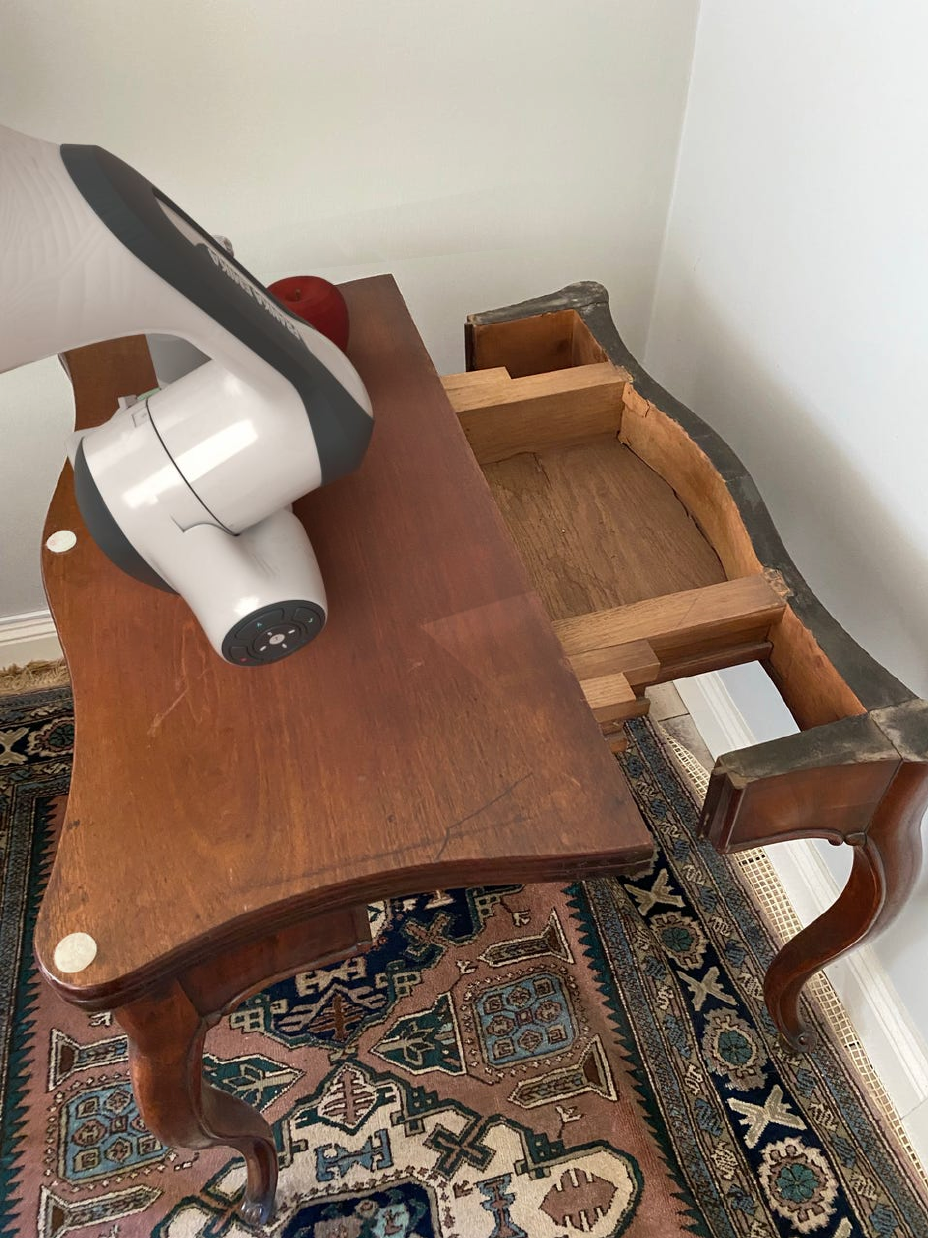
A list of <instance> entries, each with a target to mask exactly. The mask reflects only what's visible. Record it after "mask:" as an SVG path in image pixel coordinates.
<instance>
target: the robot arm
mask: <svg viewBox="0 0 928 1238" xmlns="http://www.w3.org/2000/svg"><path fill="white" fill-rule="evenodd" d="M211 235H212V234H210V233H208V232H207V230H205V229H204V228H203V227H202V226H201V225H200V224H199V223H198V222H197V221H196V220H194V219H193V217H191V216H190V215H189V214H188V213H187V212H185V210H183V209H182V207H180V206H179V205H178V204H177V203H175V201H173V200H172V199H171V198H170V197H169V196H168V195H167V194H166V193H164V192H163V191H162V190H161V189H159V188H158V187H157V186H156V185H155V184H154V183H152V181H150V180H149V179H148V178H147V177H145V176H144V175H142V174H141V173H140V172H139V171H138V170H136V169H135V168H134V167H132V166H131V165H129V163H127V162H125V161H124V160H123V159H121V158H120V157H118V155H117V156H116V154H113V153H112V152H110V151H109V150H108V149H105V148H104V147H102V146H100V145H97V144H84V143H83V144H81V143H61V144H59V143H55V142H51V141H48V140H45V139H42V138H38V137H35V136H32V135H29V134H26V133H24V132H21V131H19V130H17V129H14V128H12V127H10V126H7V125H5V124H3V123H1V122H0V375H2V374H6V373H8V372H11V371H13V370H16V369H18V368H22V367H24V366H28V365H30V364H33V363H36V362H38V361H42V360H44V359H48V358H51V357H53V356H57V355H60V354H62V353H65V352H66V353H67V352H70V351H72V350H76V349H80V348H84V347H86V346H90V345H94V344H98V343H101V342H107V341H110V340H115V339H120V338H125V337H131V336H139V335H145V334H169V335H174V336H177V337H180V338H183V339H185V340H187V341H188V342H190V343H191V344H192V345H194V346H195V347H196V348H198V349H199V350H201V351H202V352H203V353H205V354H206V355H207V356H209V357H210V358H211V360H210V361H209V362H207V363H205V364H204V365H202V366H200V367H199V368H197V369H195V370H194V371H192V372H190V373H189V374H187V375H185V376H184V377H182V378H180V379H179V380H177V381H175V382H174V383H172V384H170V385H169V386H167V387H165V388H164V389H162V390H160V391H159V392H157V393H155V394H154V395H152V396H150V397H147V398H145V399H143V400H142V401H140V402H138V400H137V397H138V396H137V394H130V395H127V396H125V395H124V396H121V397H118V398H117V401H118V405H119V408H118V409H117V410H116V411H115V413H114V414H113V415H112V416H111V418H110V419H109V420H107V421H106V422H104V423H102V424H101V425H98V426H94V427H90V428H89V427H88V428H84V429H80V430H76V431H73V433H70V435H69V436H68V437H67V438H66V439H65V440H64V448H65V451H66V455H67V457H68V461H69V462H70V465H71V468H72V470H73V483H74V484H73V486H74V495H75V499H76V503H77V506H78V510H79V513H80V515H81V517H82V520H83V522H84V524H85V527H86V528H87V530H88V532H89V534H90V537H91V538H92V540H93V541H94V543H95V544H96V546H97V547H98V548H99V549H100V551H101V552H102V553H103V554H104V555H105V557H106V558H108V560H109V561H110V562H111V563H112V564H113V565H114V566H116V567H117V568H118V569H119V570H120V571H121V572H123V573H124V574H126V575H127V576H129V577H130V578H132V579H134V580H136V581H137V582H140V583H142V584H144V585H147V586H149V587H152V588H154V589H157V590H159V591H162V592H164V593H167V594H169V595H174V596H180V597H181V598H183V600H184V601H185V602H186V604H187V605H188V606H189V608H190V609H191V611H192V613H193V614H194V616H195V617H196V619H197V622H198V623H199V624H200V627H201V628H202V630H203V632H204V634H205V636H206V637H207V639H208V642H209V643H210V644H211V647H212V648H213V650H214V651H215V652H216V654H217V655H218V656H219V657H221V659H223V661H225V662H227V663H228V664H230V665H233V666H236V667H243V668H256V667H263V666H267V665H273V664H275V663H278V662H280V661H282V660H284V659H286V658H288V657H290V656H292V655H294V654H295V653H297V652H299V651H301V650H302V649H303V648H305V647H306V646H308V645H310V644H311V643H312V642H313V641H314V640H316V638H317V637H318V636H319V635H320V634H321V632H322V631H323V629H324V628H325V625H326V623H327V621H328V613H329V609H328V608H329V607H328V600H327V599H328V598H327V593H326V588H325V584H324V580H323V577H322V573H321V569H320V566H319V562H318V560H317V556H316V553H315V551H314V548H313V546H312V543H311V541H310V538H309V536H308V534H307V531H306V529H305V528H304V525H303V524H302V522H301V520H299V518H298V517H297V516H296V515H295V514H294V513H293V503H294V502H296V501H297V500H299V499H301V498H302V497H304V496H306V495H307V494H309V493H310V492H312V491H314V490H316V489H322V488H324V487H326V486H328V485H330V484H332V483H334V482H336V481H338V480H340V479H342V478H344V477H346V476H348V475H350V474H352V473H355V472H356V471H359V470H360V469H361V466H362V465H363V462H364V460H365V457H366V455H367V452H368V449H369V446H370V443H371V440H372V438H373V437H372V436H373V433H374V429H375V424H376V417H375V414H374V411H373V406H372V402H371V399H370V396H369V393H368V391H367V388H366V386H365V384H364V382H363V380H362V378H361V376H360V374H359V372H358V371H357V370H356V368H355V366H354V365H353V364H352V362H351V361H350V359H349V358H348V357H347V356H346V354H345V355H344V353H343V352H342V351H341V350H340V349H339V348H338V347H337V346H336V345H335V344H334V343H333V342H331V341H330V340H329V339H328V338H327V337H325V336H324V335H322V334H321V333H319V332H318V331H317V329H316V328H315V327H313V326H312V325H311V324H310V323H309V322H307V321H306V320H304V319H303V318H301V317H299V316H298V315H296V314H295V313H293V312H292V311H291V310H290V309H288V308H287V307H286V306H285V305H284V304H283V303H281V302H280V301H279V300H278V299H277V298H276V297H275V296H274V295H273V294H272V293H271V292H270V291H269V290H268V289H267V287H266V286H265V285H264V284H263V283H262V282H261V281H259V279H257V277H255V275H253V274H252V272H250V271H249V270H248V269H247V268H246V267H245V266H244V265H242V264H241V262H239V260H237V259H236V257H235V256H234V257H233V256H232V255H231V254H230V253H229V252H228V251H226V250H225V249H224V248H223V247H222V246H221V245H220V244H219V243H218V242H217V241H216V240H215V239H214V238H213V237H212V236H211Z"/></svg>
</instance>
